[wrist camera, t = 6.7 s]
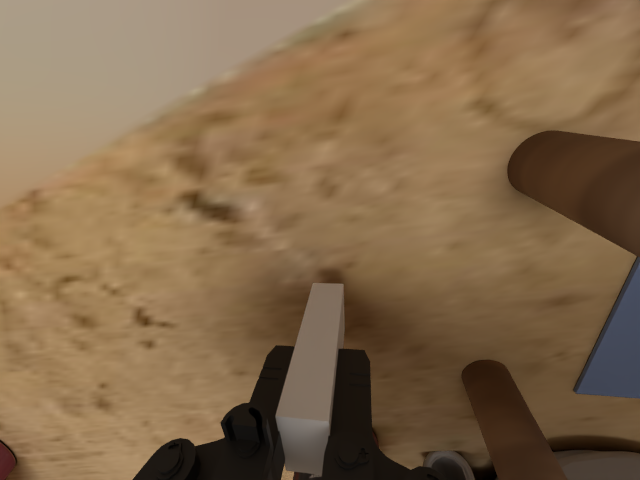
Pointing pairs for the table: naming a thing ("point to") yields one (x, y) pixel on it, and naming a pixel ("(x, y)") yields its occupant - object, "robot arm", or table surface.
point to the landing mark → (617, 348)
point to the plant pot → (6, 461)
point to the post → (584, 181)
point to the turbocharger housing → (578, 465)
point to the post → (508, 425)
